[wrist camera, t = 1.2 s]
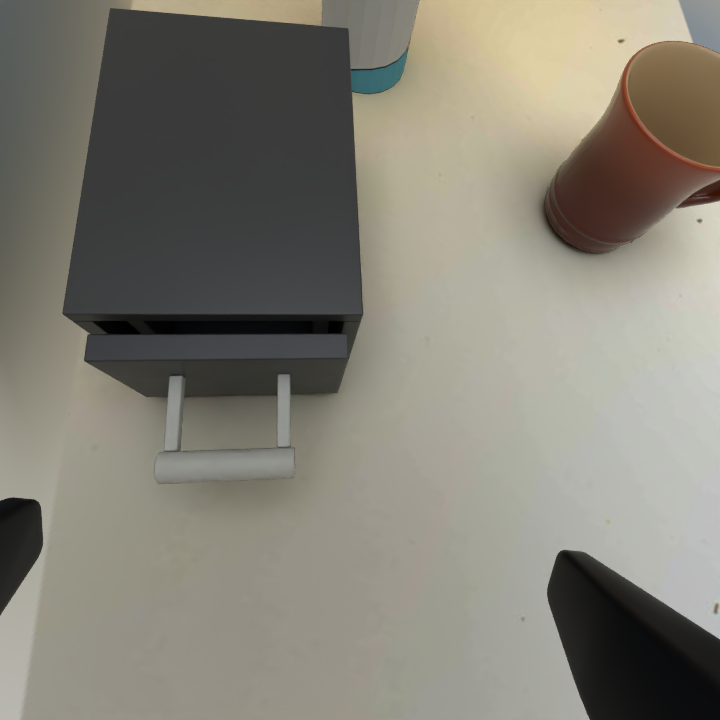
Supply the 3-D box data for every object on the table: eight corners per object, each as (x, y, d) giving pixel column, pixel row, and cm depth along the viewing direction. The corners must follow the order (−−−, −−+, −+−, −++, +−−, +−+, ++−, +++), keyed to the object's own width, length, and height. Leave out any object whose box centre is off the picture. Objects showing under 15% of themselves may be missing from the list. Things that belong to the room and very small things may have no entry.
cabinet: (345, 369, 27) (363, 314, 19) (143, 372, 26) (61, 314, 17) (337, 152, 32) (348, 27, 23) (165, 143, 31) (109, 7, 22)
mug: (527, 256, 31) (627, 151, 22) (529, 158, 34) (620, 25, 24) (682, 285, 32) (845, 197, 23) (673, 187, 35) (815, 70, 25)
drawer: (340, 478, 25) (353, 473, 18) (137, 487, 23) (65, 486, 16) (330, 175, 30) (338, 82, 23) (167, 168, 29) (123, 67, 22)
